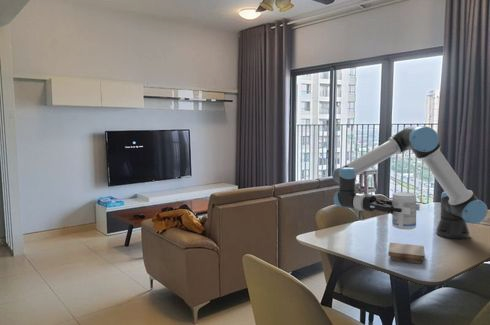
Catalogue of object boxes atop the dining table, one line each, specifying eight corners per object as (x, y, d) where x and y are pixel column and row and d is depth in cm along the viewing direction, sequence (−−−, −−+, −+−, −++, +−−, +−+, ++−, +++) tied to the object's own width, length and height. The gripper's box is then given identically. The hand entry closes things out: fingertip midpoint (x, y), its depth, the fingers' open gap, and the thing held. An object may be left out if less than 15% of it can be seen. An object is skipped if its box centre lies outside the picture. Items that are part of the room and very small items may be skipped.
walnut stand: (423, 254, 165) (423, 245, 164) (424, 265, 152) (424, 255, 151) (389, 250, 170) (389, 242, 170) (388, 261, 157) (388, 251, 157)
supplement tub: (417, 226, 162) (418, 193, 161) (414, 231, 154) (415, 196, 153) (394, 223, 167) (395, 191, 166) (389, 228, 159) (390, 194, 158)
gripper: (376, 206, 181) (424, 213, 165) (353, 214, 165) (403, 222, 149) (376, 191, 180) (424, 197, 164) (353, 197, 165) (404, 204, 149)
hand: (414, 209), depth 157 cm, fingers closed on supplement tub, 9 cm apart
